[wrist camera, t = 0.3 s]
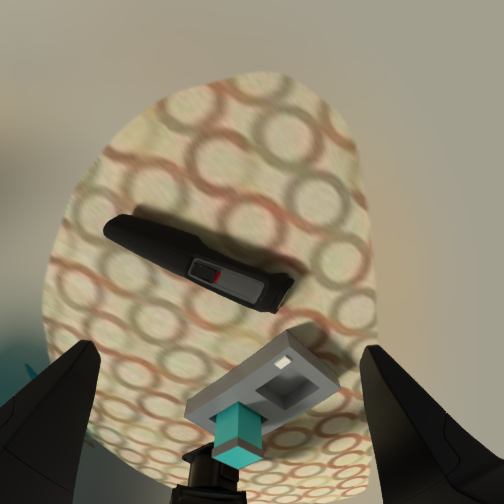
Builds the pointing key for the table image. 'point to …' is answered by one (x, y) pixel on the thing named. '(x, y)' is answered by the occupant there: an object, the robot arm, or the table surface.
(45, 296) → the table surface
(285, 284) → the electric trimmer
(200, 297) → the table surface
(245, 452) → the plug
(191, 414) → the grey flat block
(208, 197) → the table surface
